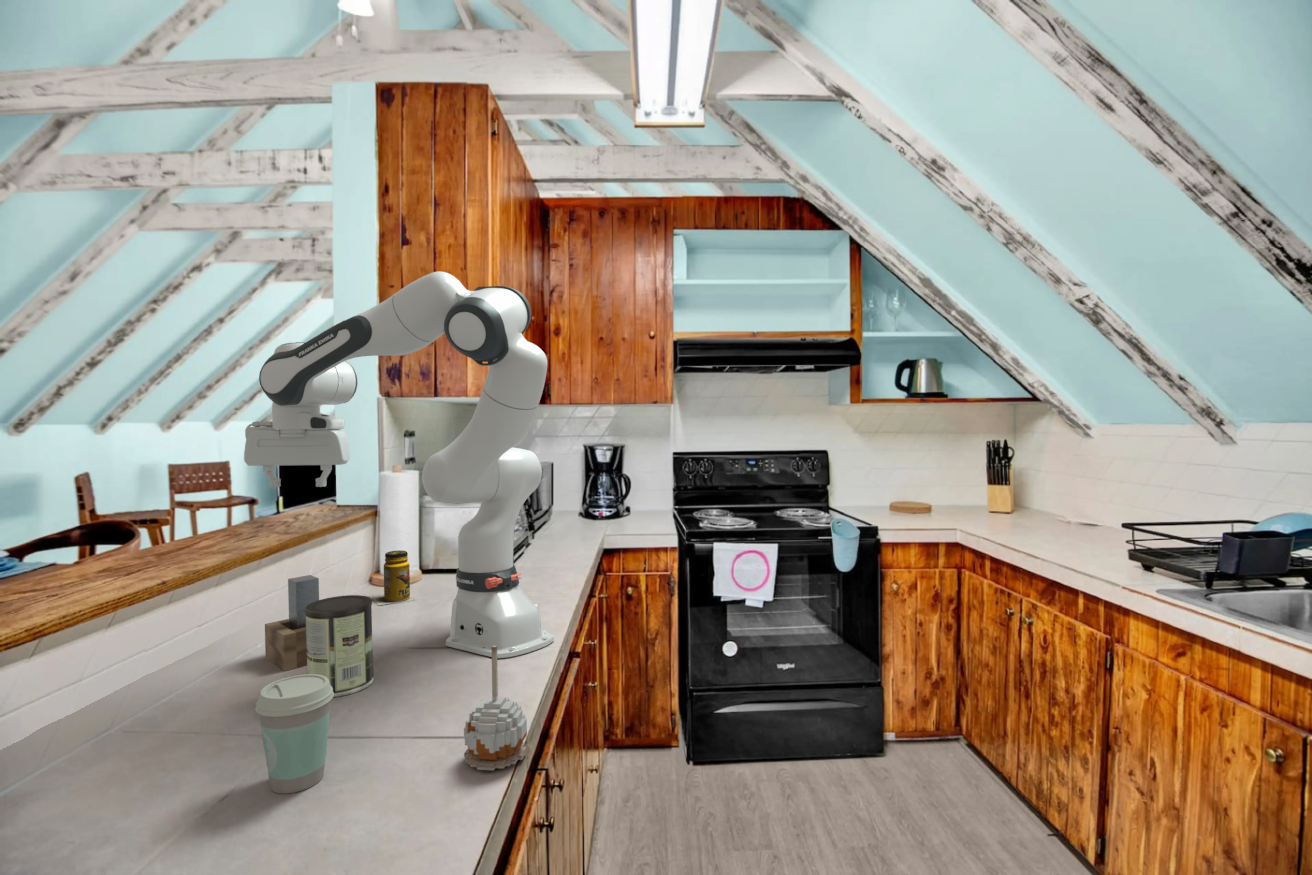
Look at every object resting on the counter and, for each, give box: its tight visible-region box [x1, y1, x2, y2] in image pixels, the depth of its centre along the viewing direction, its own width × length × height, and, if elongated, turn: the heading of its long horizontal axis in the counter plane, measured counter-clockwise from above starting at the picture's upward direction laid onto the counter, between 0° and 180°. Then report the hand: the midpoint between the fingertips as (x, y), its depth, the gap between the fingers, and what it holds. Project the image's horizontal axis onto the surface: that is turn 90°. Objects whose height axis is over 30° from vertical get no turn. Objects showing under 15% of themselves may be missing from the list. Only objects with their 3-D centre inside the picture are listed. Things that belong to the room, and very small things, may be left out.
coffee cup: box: [254, 673, 334, 795], centre depth 81 cm, size 8×9×12 cm
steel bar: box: [287, 574, 320, 630], centre depth 123 cm, size 4×4×15 cm
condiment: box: [372, 550, 415, 606], centre depth 162 cm, size 7×8×12 cm
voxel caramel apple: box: [463, 646, 528, 771], centre depth 86 cm, size 8×8×15 cm
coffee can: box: [305, 594, 375, 698], centre depth 110 cm, size 10×10×14 cm
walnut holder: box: [264, 618, 307, 672], centre depth 123 cm, size 10×10×6 cm
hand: (298, 486), depth 136 cm, fingers open, 8 cm apart
